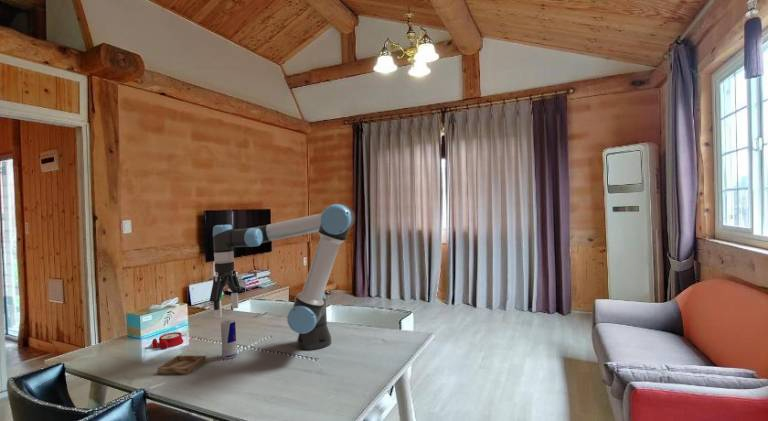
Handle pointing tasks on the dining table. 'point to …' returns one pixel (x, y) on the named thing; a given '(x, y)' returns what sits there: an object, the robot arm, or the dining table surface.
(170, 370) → the tray
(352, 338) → the dining table surface
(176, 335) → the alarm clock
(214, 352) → the dining table surface
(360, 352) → the dining table surface
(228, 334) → the beverage can
